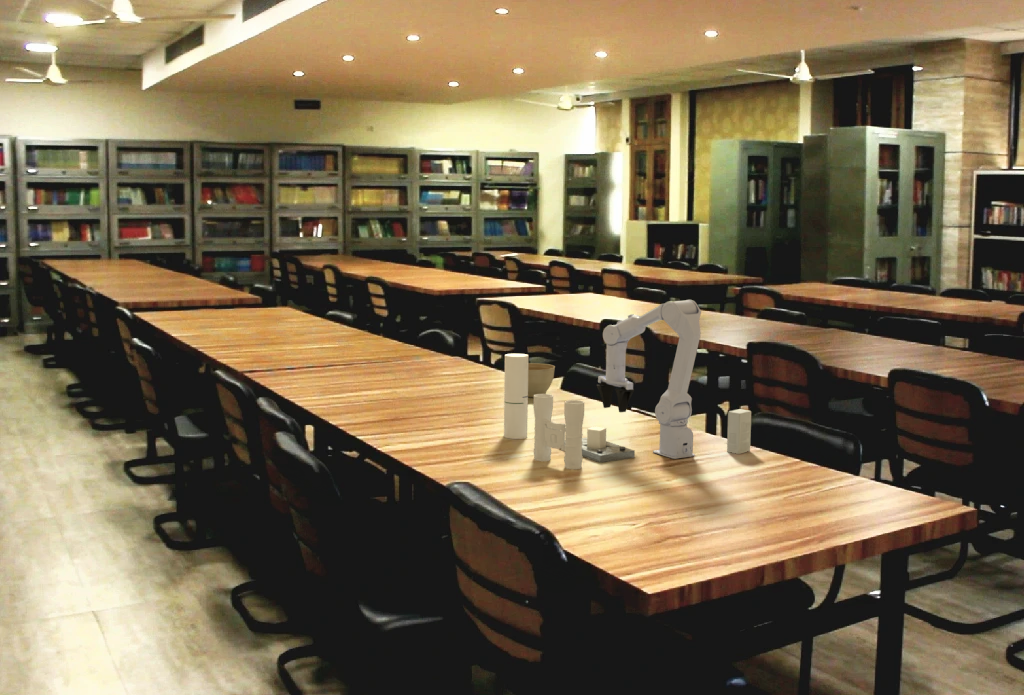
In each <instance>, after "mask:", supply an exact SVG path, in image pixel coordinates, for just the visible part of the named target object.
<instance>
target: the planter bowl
mask: <svg viewBox="0 0 1024 695" xmlns="http://www.w3.org/2000/svg"><path fill="white" fill-rule="evenodd" d="M555 368H556V366H555V365H553V364H549V363H538V362H537V363H536V362H535V363H534V362H528V398H534V395H536V394H547V392H548V390H549V389H550V387H551V386H552V383H553V380H554V377H555Z"/></svg>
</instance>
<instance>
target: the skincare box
mask: <svg viewBox="0 0 1024 695" xmlns="http://www.w3.org/2000/svg"><path fill="white" fill-rule="evenodd" d="M727 412H728V413H727V443H726V453H730V452H732V453H731V454H735V453H736V454H737V455H741V454H744V453H747V451H748V452H750V451H751V436H752V435H751V433H752V432H751V430H752V411H751V410H747V409H743V408H739V409H737V408H736V409H733V410H729V411H727ZM736 454H735V455H736Z"/></svg>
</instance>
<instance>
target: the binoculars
mask: <svg viewBox="0 0 1024 695" xmlns="http://www.w3.org/2000/svg"><path fill="white" fill-rule="evenodd" d="M585 404H586V402H585V401H584V400H580V399H579V400H578V399H567V400H565V401H564V411H563V413H564V415H563V416H564V422H565V423H562V422H561V423H559V422H554V421H552V417H553V409H554V395H553V394H551V393H546V394H536V395H534V397H533V414H534V437H533V438H534V443H533V444H534V445H533V446H534V447H533V459H534V461H537V462H549V461H551V457H552V456H551V455H552V449H557V450H558V449H559V450H561V451H564V457H563V462H564V469H567V470H580V469H582V464H583V456H582V438H583V424H584V418H585Z"/></svg>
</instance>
